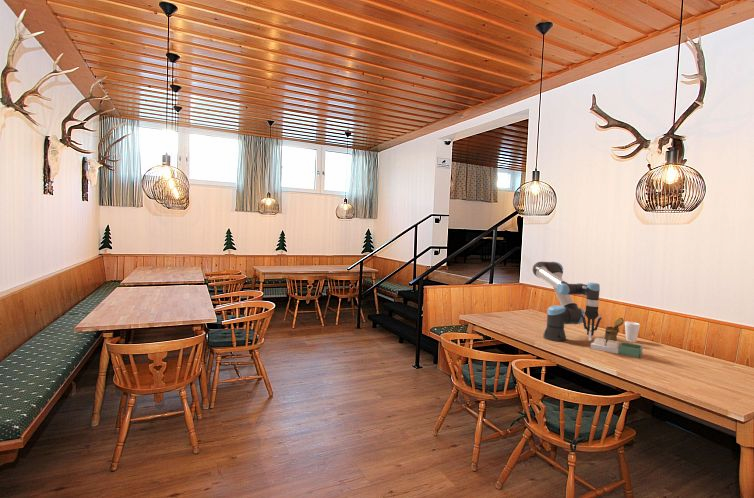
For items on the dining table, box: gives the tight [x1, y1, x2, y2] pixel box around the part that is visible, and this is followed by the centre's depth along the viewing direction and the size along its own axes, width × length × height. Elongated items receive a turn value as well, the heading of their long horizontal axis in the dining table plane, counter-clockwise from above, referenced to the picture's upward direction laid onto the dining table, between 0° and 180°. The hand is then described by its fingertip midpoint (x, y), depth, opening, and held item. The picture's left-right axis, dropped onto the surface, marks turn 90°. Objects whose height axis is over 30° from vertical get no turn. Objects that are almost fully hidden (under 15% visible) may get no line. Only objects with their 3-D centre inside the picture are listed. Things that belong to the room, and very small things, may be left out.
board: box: [590, 340, 621, 355], centre depth 272 cm, size 16×12×3 cm
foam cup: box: [624, 321, 641, 343], centre depth 298 cm, size 10×9×13 cm
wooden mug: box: [603, 317, 625, 343], centre depth 288 cm, size 9×14×18 cm, turn 104°
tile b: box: [607, 340, 620, 348], centre depth 269 cm, size 6×6×3 cm
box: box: [617, 341, 644, 359], centre depth 263 cm, size 12×12×6 cm
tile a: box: [593, 337, 606, 345], centre depth 274 cm, size 6×6×3 cm
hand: (589, 339), depth 278 cm, fingers closed
